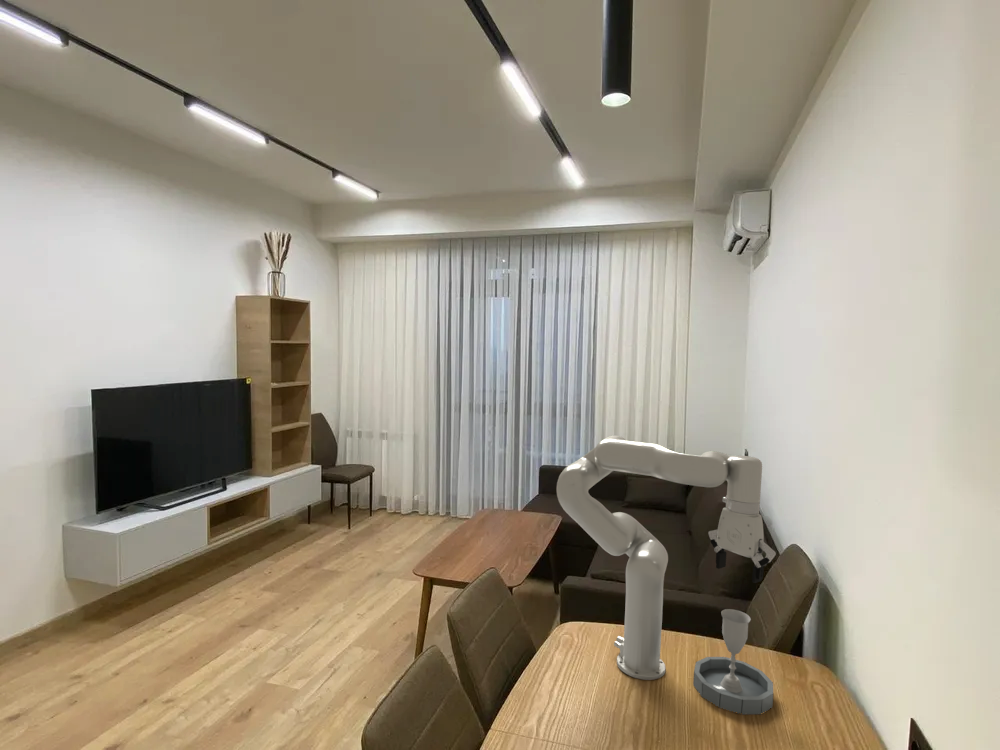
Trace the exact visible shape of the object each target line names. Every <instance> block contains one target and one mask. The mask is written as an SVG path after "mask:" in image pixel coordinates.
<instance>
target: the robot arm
mask: <svg viewBox="0 0 1000 750" xmlns="http://www.w3.org/2000/svg"><path fill="white" fill-rule="evenodd" d="M614 471H615V472H621V473H627V474H634V475H635V474H637V475H643V476H651V477H654V478H657V479H661V480H663V481H664V480H665V481H669V482H672V483H676V484H681V485H687V486H688V485H689V486H694V487H702V488H703V487H704V488H716V487H720V485H723V483H724V482H726V481H727V490H726V496H722V502H723V503H725V507H723V508H722V511H721V513H720V517H719V520H718V521H719V522H718V525H717V526H718V527H717V529H714V530H709V531H708V536H709V539H710V544H711V545H712V547H713V550H714V552H715V553H716V554H715V568H716V569H718V570H719V569H722V568H725V567H726V565H727V551H729V552H730V553H734V554H737V555H739V556H743V557H745V558H750V559H751V560H752V562H753V563H754V565H753V566H752V575H751V582H752V583H753V584H757V583H760V582H762V580H763V579H764V568H765V567H766V566H767V564H769V563H771V562H772V560H773V559H774V558H775V556H776V554H777V553H776V551H775V550H774V549H773V548H771V547H770V546H769V545H768V544H767V543H765V541H764V539H765V538H764V536H765V534H764V523H763V522H764V521H763V517H762V514H760V503H761V489H762V477H763V476H762V473H763V462H762V461H761V460H760V459H759V458H757V457H754V456H749V455H732V454H728V453H724V452H719V451H714V450H713V451H712V450H709V451H705V452H703V453H701V454H700V455H695V454H688V453H687V454H686V453H680V452H677V451H673V450H670V449H668V448H666V447H664V446H662V445H661V444H658V443H653V442H643V441H642V442H641V441H633V440H632V441H631V440H627V439H626V438H624V437H622V436H619V435H610V436H607V437H605V438H604V439H602V440H600V441H599V442H598V443H597V444H596V446H595V447H593V448H592V449H591V450H589V451H588V452H587V453H586V454H584V455H582V456H581V457H580V458H579V459H577V460H576V461H574V462H571V463H570V464H569V465H566V467H565V468H564V469H562V472H560V474H559V476H558V479H557V482H556V497H557V500H558V503H559V505H560V507H561V508H562V509H563V511H564V512H565V513H566V514H567V515H568V516H569V517H570V518H571V519H572V520H573V521H575V523H577V524H578V526H580V527H581V529H583V531H585V532H586V533H587V534H588V536H590V538H592V540H594V541H595V543H597V544H598V546H600V547H601V549H602V550H604V551H605V553H608V554H609V555H611V556H615V557H619V556H622V555H627V556H628V557H629V558H628V561H627V563H626V567H625V605H624V606H625V609H624V610H625V611H624V627H623V628H624V630H623V631H624V632H623V636H621V635H618V636H617V637H616V639H615V640H616V641H614V642H613V646H614V647H616V648H617V649H619V654H618V655H617V657H616V666H617V667H618V668H619V670H620V671H621V672H623V673H624V674H625V675H628V676H630V677H632V678H634V679H639V680H644V681H645V680H646V681H651V680H652V681H653V680H657V679H660V678H662V677H663V676H664V675H665V674H666V664H665V662H664V661H663V660H662V658H661V644H662V625H663V624H662V623H663V606H664V582H665V575H666V574H665V573H666V571H667V566H668V562H669V554H668V551H667V550H666V547H665V546H664V545H663V544H662V543H661V542H660V541H659V540H658V538H657V537H655V536H654V535H653V534H652V533H651V532H650V531H649V530H647V528H645V527H644V526H643V524H641V523H640V522H639V521H638V520H637V519H636V518H634V517H633V516H632V515H631V514H628V513H626V512H621V511H618V512H611V511H609V510H608V509H607V508H606V507H605V506H604V505H603V504H602V503H601V502H600V501H599V500H597V499H596V498H595V497H592V495H590V493H589V490H590V489H591V488H592V487H593V486H595V485H596V484H597V483H599V482H600V481H601V480H602V479H604V478H605V477H607V476H608V475H610V474H611V473H613V472H614ZM763 553H765V556H763Z"/></svg>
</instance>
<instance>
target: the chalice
mask: <svg viewBox="0 0 1000 750" xmlns="http://www.w3.org/2000/svg"><path fill="white" fill-rule="evenodd" d="M720 613H721V617H722V626H721V629H722V630H721V633H722V636H723V637H722V638H723V640H724V644H725V646H726V648H727V651H728V652H729V653H730V654H731V655H730V657H729V658H730V661H731V665H730V666H729V668H730V674H727V675H725V676H724V678H723V680H722V682H721V686H722V687H723V688H724V689H726V690H727V691H730V692H734V693H738V692H741V691H742V687H741V683H740V680H739V679H738V677H736V676H735V675H734V671H735V669H736V667H735V662H736V660H737V659H736V654H740V652H741V651H742V649H743V647H744V646H745V645H746V643H747V640H748V636H749V623H750V622H751V620H752V619H751V617H750V616H749V614H747V613H745V612H743V611H741V610H738V609H734V608H725V609H723V610H721V612H720Z"/></svg>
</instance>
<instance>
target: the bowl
mask: <svg viewBox="0 0 1000 750" xmlns="http://www.w3.org/2000/svg"><path fill="white" fill-rule="evenodd" d="M730 658H731V657H727V656H706V657H704V658H702V659H699V660H697V661H696V662H695V665H694V669H693V670H694V671H693V682H692V683H693V684H692V685H693V687H694V688H695V689H696V691H697V693H698V694H699V693H700V694H699V695H700V697H702V698H703V699H704V698H705V699H704V700H706V699H707V700H706V701H707V702H709V701H710V702H709V703H711V702H712V703H713V705H714V704H715V705H714V706H715V707H717V706H718V708H719V709H722V708H723V709H722V710H725V709H726V711H728V710H729V712H732V711H733V713H735V712H737V713H736V714H739V713H740V714H739V715H762V714H761V713H763V712H764V713H766V712H767V711H769V710H771V709H773V705H774V704H773V703H774V681H772V680H771V679H770V678H769V677H768V675H767V674H766V673H765V672H763V671H762V670H760V669H759V668H756V667H755V666H754V665H751V664H749V663H747V662H745V661H743V660H739V659H736V662H735V667H736V669H735V671H734V675H735V676H736V677H738V679H739V680H740V683H741V687H742V691H741V692H738V693H734V692H730V691H727V690H726V689H724V688H723V687H722V686H721V682H722V680H723V678H724V676H725V675H727V674H730V668H729V666H730V665H731V661H730ZM712 703H711V704H712ZM770 708H771V709H770ZM765 711H766V712H765ZM741 713H742V714H741ZM764 713H763V714H764Z"/></svg>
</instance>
